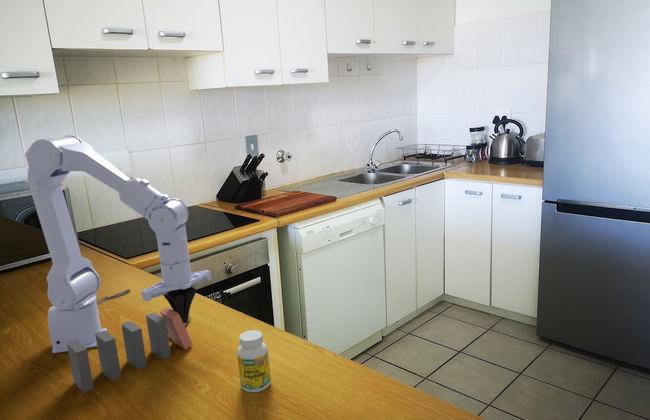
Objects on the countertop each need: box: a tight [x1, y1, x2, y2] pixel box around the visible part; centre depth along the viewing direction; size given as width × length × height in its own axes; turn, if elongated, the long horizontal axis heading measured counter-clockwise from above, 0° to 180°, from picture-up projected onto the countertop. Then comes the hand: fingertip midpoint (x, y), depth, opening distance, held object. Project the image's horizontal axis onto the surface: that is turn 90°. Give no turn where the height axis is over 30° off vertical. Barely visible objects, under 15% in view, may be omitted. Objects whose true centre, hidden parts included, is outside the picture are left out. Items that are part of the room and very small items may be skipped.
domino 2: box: [95, 330, 122, 382], centre depth 93 cm, size 2×5×8 cm, turn 44°
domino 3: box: [121, 320, 148, 371], centre depth 96 cm, size 2×5×8 cm, turn 44°
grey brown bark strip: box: [96, 288, 131, 306], centre depth 130 cm, size 12×1×5 cm
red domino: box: [159, 306, 193, 351], centre depth 102 cm, size 2×5×8 cm, turn 44°
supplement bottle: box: [236, 329, 272, 393], centre depth 87 cm, size 5×5×10 cm
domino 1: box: [67, 340, 95, 394], centre depth 89 cm, size 2×5×8 cm, turn 44°
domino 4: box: [145, 312, 171, 360], centre depth 100 cm, size 2×5×8 cm, turn 44°
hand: (182, 321), depth 103 cm, fingers closed
